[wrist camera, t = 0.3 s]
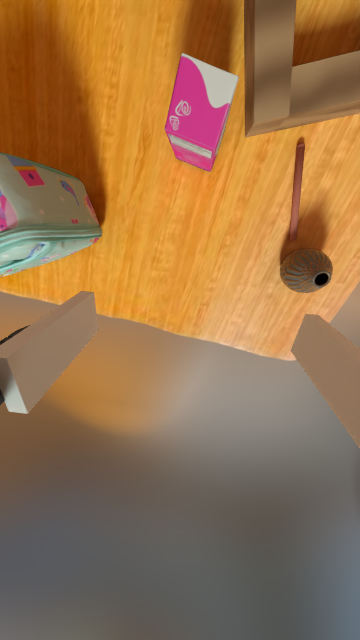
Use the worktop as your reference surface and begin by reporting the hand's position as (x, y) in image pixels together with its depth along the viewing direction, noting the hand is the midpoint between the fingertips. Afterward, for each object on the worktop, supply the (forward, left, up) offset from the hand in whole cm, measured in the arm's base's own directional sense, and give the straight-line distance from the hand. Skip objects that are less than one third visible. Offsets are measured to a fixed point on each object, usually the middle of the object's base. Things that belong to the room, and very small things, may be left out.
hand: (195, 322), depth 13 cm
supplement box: (-16, +2, -27) cm, 31 cm away
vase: (+4, +17, -27) cm, 32 cm away
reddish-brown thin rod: (-7, +16, -27) cm, 32 cm away
